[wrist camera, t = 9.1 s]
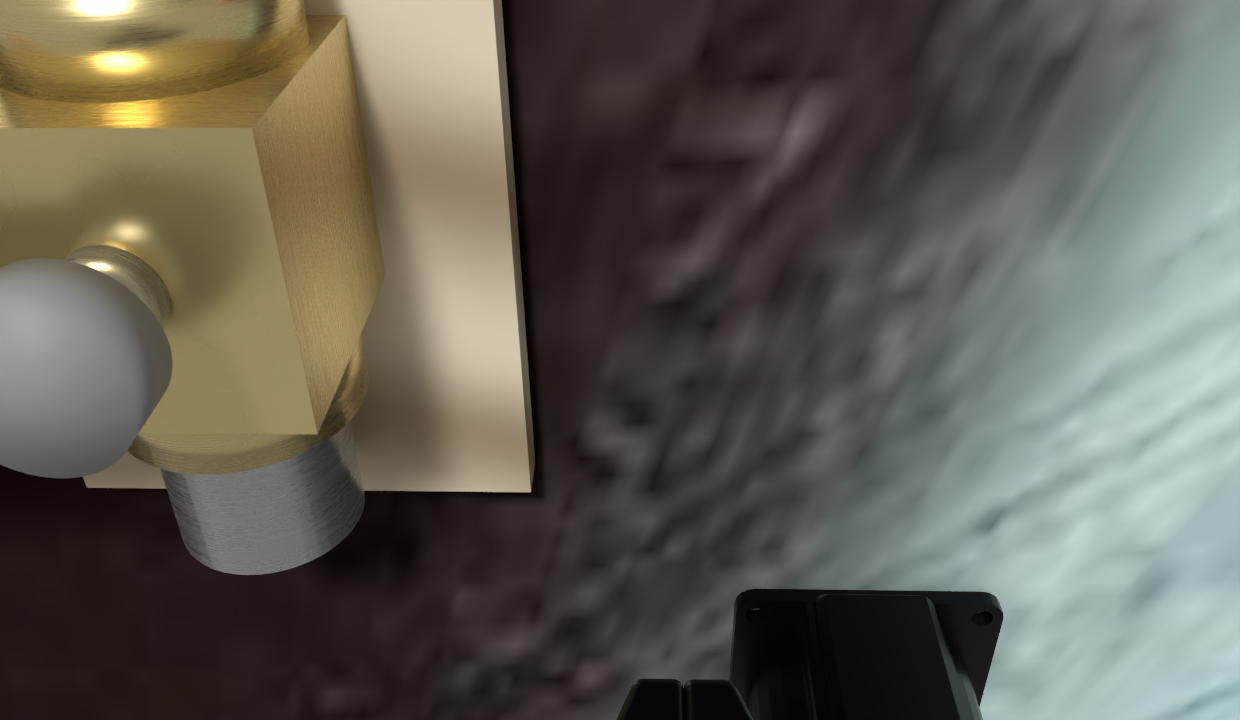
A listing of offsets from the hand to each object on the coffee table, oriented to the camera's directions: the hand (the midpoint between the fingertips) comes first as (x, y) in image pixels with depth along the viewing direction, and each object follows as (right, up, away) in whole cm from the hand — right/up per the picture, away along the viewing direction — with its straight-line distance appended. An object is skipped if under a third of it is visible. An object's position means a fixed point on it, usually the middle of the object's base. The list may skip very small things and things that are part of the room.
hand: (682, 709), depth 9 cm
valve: (-8, +7, +11) cm, 15 cm away
